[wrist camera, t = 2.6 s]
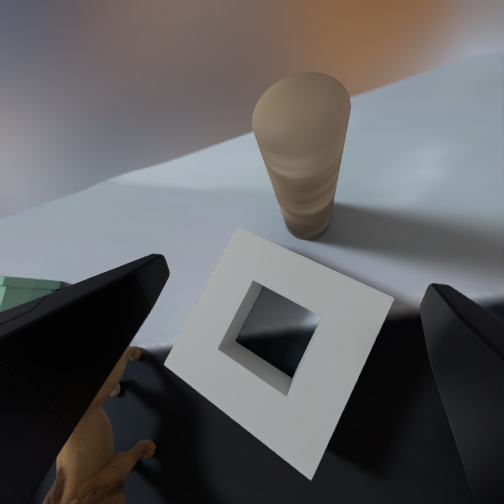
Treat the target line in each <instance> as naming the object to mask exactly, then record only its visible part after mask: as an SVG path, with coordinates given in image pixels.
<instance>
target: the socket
mask: <svg viewBox="0 0 504 504" xmlns="http://www.w3.org/2000/svg"><path fill="white" fill-rule="evenodd" d="M263 286H265V287H267V288H269V289H271V290H272V291H274V292H276V293H278V294H280V295H282V296H284V297H286V298H287V299H289V300H291V301H293V302H295V303H297V304H299V305H301V306H302V307H304V308H306V309H308V310H310V311H312V312H314V313H316V314H317V315H319V316H321V317H322V318H321V320H320V322H319V324H318V326H317V328H316V330H315V332H314V334H313V336H312V338H311V341H310V343H309V345H308V347H307V349H306V351H305V353H304V355H303V357H302V359H301V361H300V363H299V365H298V368H297V370H296V372H295V374H294V376H293V378H291V377H289V376H288V375H286V374H285V373H283V372H282V371H280V370H279V369H277V368H275V367H274V366H272V365H271V364H269V363H268V362H266V361H265V360H263V359H262V358H260V357H259V356H257V355H256V354H254V353H253V352H251V351H249V350H248V349H246V348H245V347H243V346H242V345H240V344H239V343H237V342H236V341H235V340H236V338H237V337H238V335H239V333H240V331H241V329H242V327H243V325H244V323H245V321H246V319H247V317H248V315H249V313H250V311H251V309H252V307H253V305H254V303H255V301H256V299H257V297H258V295H259V293H260V292H261V290H262V288H263ZM393 300H394V298H393V297H391V296H389V295H387V294H384V293H382V292H380V291H378V290H376V289H373V288H371V287H369V286H367V285H365V284H362V283H360V282H358V281H356V280H354V279H352V278H349V277H347V276H345V275H343V274H341V273H338V272H336V271H334V270H332V269H330V268H327V267H325V266H323V265H321V264H319V263H316V262H314V261H312V260H310V259H308V258H306V257H303V256H301V255H299V254H297V253H295V252H292V251H290V250H288V249H286V248H284V247H281V246H279V245H277V244H275V243H273V242H270V241H268V240H266V239H264V238H262V237H260V236H257V235H255V234H253V233H251V232H249V231H246V230H244V229H242V228H240V227H238V226H237V228H236V230H235V232H234V234H233V236H232V238H231V239H230V241H229V243H228V245H227V247H226V249H225V251H224V253H223V254H222V256H221V258H220V260H219V262H218V264H217V266H216V268H215V269H214V271H213V273H212V275H211V277H210V279H209V281H208V283H207V284H206V286H205V288H204V290H203V292H202V294H201V296H200V297H199V299H198V301H197V303H196V305H195V307H194V309H193V311H192V312H191V314H190V316H189V318H188V320H187V322H186V324H185V326H184V327H183V329H182V331H181V333H180V335H179V337H178V339H177V341H176V342H175V344H174V346H173V348H172V350H171V352H170V354H169V355H168V357H167V359H166V361H165V363H164V365H165V366H166V367H167V368H169V369H170V370H171V371H173V372H174V373H175V374H176V375H178V376H179V377H180V378H181V379H183V380H184V381H185V382H187V383H188V384H189V385H190V386H192V387H193V388H194V389H195V390H197V391H198V392H199V393H201V394H202V395H203V396H204V397H206V398H207V399H208V400H209V401H211V402H212V403H213V404H214V405H216V406H217V407H218V408H220V409H221V410H222V411H223V412H225V413H226V414H227V415H228V416H230V417H231V418H232V419H234V420H235V421H236V422H237V423H239V424H240V425H241V426H242V427H244V428H245V429H246V430H247V431H249V432H250V433H251V434H253V435H254V436H255V437H256V438H258V439H259V440H260V441H261V442H263V443H264V444H265V445H267V446H268V447H269V448H270V449H272V450H273V451H274V452H275V453H277V454H278V455H279V456H280V457H282V458H283V459H284V460H286V461H287V462H288V463H289V464H291V465H292V466H293V467H294V468H296V469H297V470H298V471H300V472H301V473H302V474H303V475H305V476H306V477H307V478H308V479H310V480H312V477H313V475H314V473H315V471H316V469H317V466H318V464H319V462H320V460H321V458H322V456H323V453H324V451H325V449H326V447H327V445H328V442H329V440H330V438H331V436H332V434H333V432H334V429H335V427H336V425H337V423H338V421H339V418H340V416H341V414H342V412H343V410H344V407H345V405H346V403H347V401H348V399H349V397H350V394H351V392H352V390H353V388H354V386H355V383H356V381H357V379H358V377H359V375H360V373H361V370H362V368H363V366H364V364H365V362H366V359H367V357H368V355H369V353H370V351H371V348H372V346H373V344H374V342H375V340H376V338H377V335H378V333H379V331H380V329H381V327H382V324H383V322H384V320H385V318H386V316H387V313H388V311H389V309H390V307H391V305H392V303H393Z"/></svg>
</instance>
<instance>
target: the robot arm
mask: <svg viewBox="0 0 504 504" xmlns="http://www.w3.org/2000/svg"><path fill="white" fill-rule="evenodd" d="M169 274H170V272H169V268H168V265H167V262H166V259H165V257H164V256H163V255H161V254H151V255H148V256H145V257H143V258H140V259H138V260H135V261H132V262H130V263H127V264H125V265H122V266H120V267H117V268H114V269H112V270H109V271H107V272H104V273H101V274H99V275H96V276H94V277H91V278H89V279H86V280H83V281H81V282H78V283H76V284H73V285H70V286H68V287H65V288H63V289H60V290H57V291H55V292H52V293H50V294H49V295H48V294H47V295H44V296H42V297H39V298H37V299H34V300H31V301H29V302H26V303H23V304H21V305H18V306H15V307H13V308H10V309H7V310H4V311H1V312H0V504H27V502H28V501H29V499H30V498H31V496H32V495H33V493H34V492H35V490H36V489H37V487H38V485H39V484H40V482H41V481H42V479H43V478H44V476H45V475H46V473H47V471H48V470H49V468H50V467H51V465H52V464H53V462H54V461H55V459H56V458H57V456H58V454H59V453H60V451H61V450H62V448H63V447H64V445H65V444H66V442H67V441H68V439H69V437H70V436H71V434H72V433H73V431H74V428H76V426H77V425H78V423H79V422H80V420H81V419H82V417H83V415H84V414H85V412H86V411H87V409H88V408H89V406H90V405H91V403H92V402H93V400H94V398H95V397H96V395H97V394H98V392H99V391H100V389H101V388H102V386H103V385H104V383H105V381H106V380H107V378H108V377H109V375H110V374H111V372H112V371H113V369H114V368H115V366H116V364H117V363H118V361H119V360H120V358H121V357H122V355H123V354H124V352H125V351H126V349H127V347H128V346H129V344H130V343H131V341H132V340H133V338H134V337H135V335H136V334H137V332H138V330H139V329H140V327H141V326H142V324H143V323H144V321H145V320H146V318H147V317H148V315H149V313H150V312H151V310H152V308H153V307H154V305H155V303H156V301H157V299H158V297H159V295H160V293H161V291H162V289H163V287H164V285H165V284H166V282H167V280H168V278H169ZM420 313H421V318H422V324H423V329H424V334H425V340H426V345H427V350H428V355H429V359H430V363H431V366H432V370H433V373H434V376H435V379H436V382H437V385H438V388H439V391H440V395H441V398H442V401H443V404H444V407H445V410H446V413H447V416H448V419H449V422H450V426H451V429H452V432H453V435H454V438H455V441H456V444H457V447H458V450H459V453H460V457H461V460H462V463H463V466H464V469H465V472H466V475H467V478H468V481H469V484H470V488H471V491H472V494H473V497H474V500H475V503H476V504H504V321H502V320H501V319H499V318H498V317H496V316H495V315H493V314H492V313H490V312H489V311H487V310H486V309H484V308H483V307H481V306H480V305H478V304H477V303H475V302H474V301H472V300H471V299H469V298H468V297H466V296H465V295H463V294H462V293H460V292H458V291H457V290H455V289H454V288H452V287H451V286H449V285H445V284H436V283H432V284H430V285H429V286H428V288H427V290H426V293H425V295H424V297H423V300H422V302H421V305H420Z"/></svg>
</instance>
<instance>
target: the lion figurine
mask: <svg viewBox="0 0 504 504" xmlns="http://www.w3.org/2000/svg"><path fill="white" fill-rule="evenodd" d="M141 354H142V352H141V349H140V348H139V347H136V346H134V347H129V348H127V349H126V351H125V352H124V354H123V355H122V357H121V358H120V360H119V361H118V363H117V364H116V366H115V368H114V369H113V371H112V372H111V374H110V375H109V377H108V378H107V380H106V381H105V383H104V385H103V386H102V388H101V389H100V391H99V392H98V394H97V395H96V397H95V398H94V400H93V402H92V403H91V405H90V406H89V408H88V409H87V411H86V412H85V414H84V415H83V417H82V419H81V420H80V422H79V423H78V425H77V426H76V428H74V431H73V433H72V434H71V436H70V437H69V439H68V441H67V442H66V444H65V445H64V447H63V448H62V450H61V451H60V453H59V454H58V456H57V475H56V478H55V482H54V484H53V486H52V488H51V489H50V491H49V493H48V494H47V496H46V498H45V500H44V502H43V504H124V501H125V493H124V490H123V488H124V484H123V479H124V478H125V477H126V475H127V474H128V473H129V472H130V471H131V469H132V468H133V467H134V465H135V464H136V463H137V461H138V459H139V458H140V456H141V455H143V456H144V457H147V458H151V457H152V455H153V454H154V452H155V449H156V445H155V443H154V442H153V441H151V440H149V439H147V440H144V441H142V440H141V441H140V442H138V443H137V445H136V446H135V447H134V448H132V449H131V450H129V451H127V452H124V453H118V454H116V455H114V438H113V430H112V426H111V422H110V420H109V417H108V416H107V414H106V413H105V412H104V411H103V409H102V405H103V403H104V401H105V400H106V399H107V398H108V396H109V395H110V396H112V397H114V396H117V395H118V394H119V392H120V384H119V381H120V379H121V377H122V374H123V371H124V368H125V365H126V362H127V360H128V358H130V359H131V360H133V361H137V360H138V359H139V358H140V357H141Z"/></svg>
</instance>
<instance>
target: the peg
mask: <svg viewBox="0 0 504 504" xmlns="http://www.w3.org/2000/svg"><path fill="white" fill-rule="evenodd" d="M350 109H351V103H350V97H349V94H348V92H347V90H346V89H345V87H344V86H343V85H342V84H341V83H340V82H339V81H338V80H336V79H335V78H333V77H331V76H328V75H326V74H321V73H315V72H307V73H300V74H295V75H292V76H289V77H287V78H284V79H283V80H280V81H279V82H277V83H276V84H274V85H273V86H271V87H270V88H269V89H268V90H267V91H266V92H265V93H264V94H263V95H262V97H261V98H260V100H259V101H258V103H257V105H256V107H255V109H254V112H253V118H252V125H253V131H254V134H255V137H256V140H257V143H258V146H259V149H260V151H261V154H262V157H263V160H264V163H265V166H266V169H267V172H268V175H269V177H270V180H271V183H272V186H273V189H274V192H275V195H276V198H277V201H278V203H279V206H280V209H281V212H282V215H283V218H284V221H285V224H286V227H287V229H288V231H289V232H290V233H291V234H292V235H293V236H295V237H296V238H299V239H302V240H311V239H315V238H317V237H319V236H321V235H322V234H323V233H324V232H325V231H326V230H327V228H328V226H329V223H330V217H331V212H332V207H333V201H334V196H335V191H336V185H337V180H338V175H339V169H340V164H341V159H342V153H343V148H344V143H345V137H346V132H347V127H348V121H349V116H350Z"/></svg>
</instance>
